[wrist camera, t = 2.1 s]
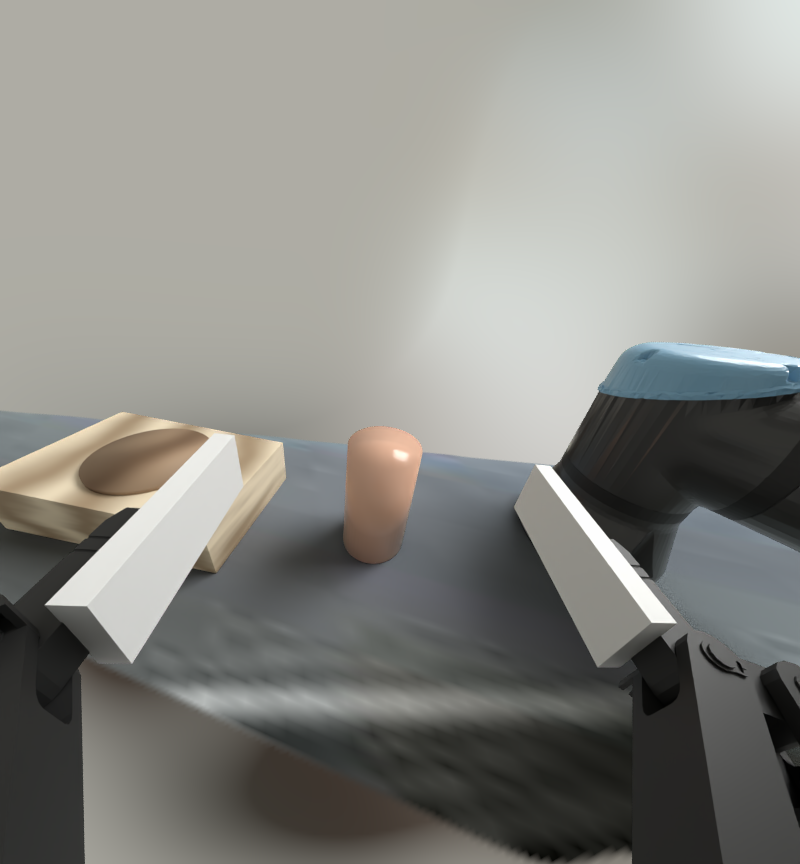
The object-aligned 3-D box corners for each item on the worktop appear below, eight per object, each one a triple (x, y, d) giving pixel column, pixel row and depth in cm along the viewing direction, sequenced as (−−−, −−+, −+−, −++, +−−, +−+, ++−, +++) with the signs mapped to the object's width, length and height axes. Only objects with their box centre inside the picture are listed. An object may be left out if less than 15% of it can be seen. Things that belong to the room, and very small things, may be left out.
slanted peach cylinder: (414, 541, 31) (437, 452, 24) (367, 576, 27) (380, 480, 20) (377, 505, 34) (389, 420, 28) (331, 531, 30) (333, 438, 24)
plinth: (286, 478, 36) (282, 439, 33) (216, 573, 25) (200, 528, 22) (137, 448, 37) (120, 408, 34) (6, 528, 26) (-38, 478, 22)
